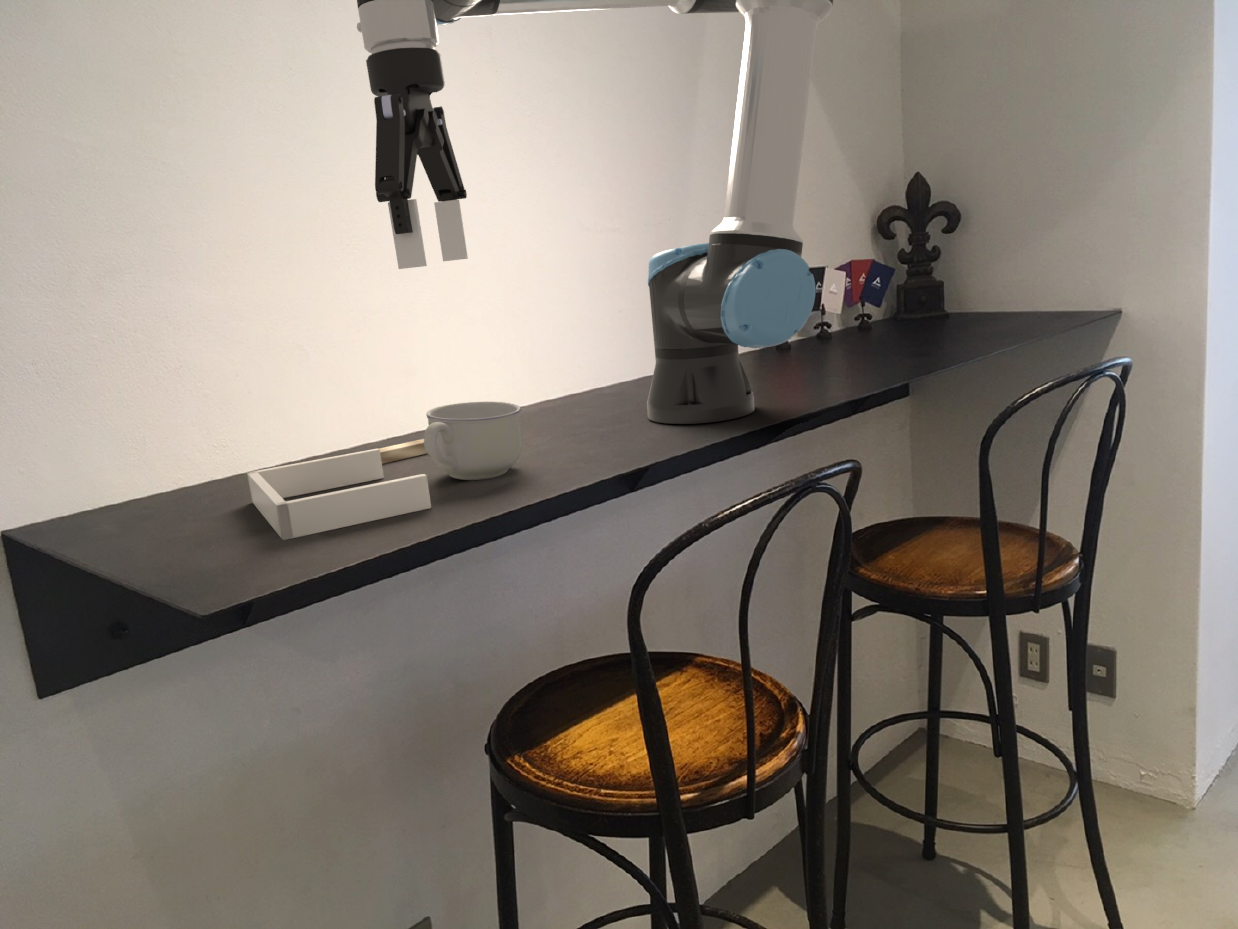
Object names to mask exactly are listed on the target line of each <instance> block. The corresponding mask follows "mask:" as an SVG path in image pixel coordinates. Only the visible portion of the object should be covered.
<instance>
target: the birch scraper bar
mask: <svg viewBox="0 0 1238 929" xmlns="http://www.w3.org/2000/svg"><path fill="white" fill-rule="evenodd" d="M378 449H379V450H380V455H381V462H382V465H383V464H387V463H391V462H395V461H399V460H403V459H409V458H413V457H417V456H421V455H426V454H428V453H427V452H426V450H425V446H424V438H421V439H416V440H412V441H407V442H403V443H399V444H393V445H388V446H385V447H380V448H378Z"/></svg>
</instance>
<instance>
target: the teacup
mask: <svg viewBox="0 0 1238 929" xmlns="http://www.w3.org/2000/svg"><path fill="white" fill-rule="evenodd" d="M521 410H522V409H521V406H520V405H518V404H515V403H510V402H503V401H469V402H459V403H452V404H447V405H442V406H437V407H433V408H431V409H429V410H428V411H426V414H425V415H426V418H427V422H428V426H427V427H426V429H425V431H424V434H423V439H424V446H425V450H426V452H427V453H426V454H427V455H428V456H429V457H430V458H432V459H433V461H434V463H435V465H436V466H437V467H438V469H440V470H441V471H444V472H445V473H446V475H448V476H449V477H451V478H453V479H456V480H463V481H479V480H480V481H481V480H486V479H487V480H488V479H492V478H497V477H500V476H503V475H504V474H506V473H507V472H508V471H509V469H510V468H511V467H512V466H514V465H515V464H516V463H517V461H518V460H519V457H520V454H521V450H522V433H521V429H522V428H521V414H520V413H521Z"/></svg>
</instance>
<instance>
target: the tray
mask: <svg viewBox="0 0 1238 929" xmlns="http://www.w3.org/2000/svg"><path fill="white" fill-rule="evenodd" d="M379 449H380V448H373V449H368V450H361V451H356V452H350V453H346V454H341V455H335V456H329V457H322V458H318V459H313V460H308V461H307V460H306V461H302V462H297V463H290V464H285V465H279V466H274V467H269V468H264V469H259V470H253V471H247V472H246V476H247V480H248V485H249V486H248V487H249V492H250V498H251V503H252V504H253V505H254V506H255V507H256V509H257V510H258V511H259V513H260V514H261V515H262V516H263V518H265V520H266V521H267V522H268V524H269V525H270V526H271V527H272V528H273V530H274V531H275V532H276V533H277V535H278V536H279V537H280V539H281V540H282V541H285V540H291V539H294V538H300V537H305V536H308V535H313V534H319V533H322V532H327V531H333V530H336V529H340V528H346V527H350V526H354V525H360V524H364V523H368V522H369V523H370V522H372V521H373V522H374V521H377V520H382V519H383V520H384V519H387V518H392V517H395V516H396V517H397V516H401V515H404V514H410V513H415V512H419V511H424V510H428V509H431V508H432V503H431V502H432V501H431V496H430V488H429V482H428V476H427V474H425V473H421V474H416V475H410V476H406V477H400V478H395V479H392V480H385V481H381V482H376V483H371V484H366V485H361V486H355V487H351V488H347V489H342V490H341V489H340V490H336V491H331V492H327V493H321V494H316V495H312V496H306V497H302V498H296V499H292V500H285V498H286V499H287V498H290V497H295V496H300V495H305V494H311V493H316V492H320V491H325V490H331V489H335V488H340V487H346V486H350V485H351V486H352V485H356V484H360V483H361V484H362V483H367V482H371V481H376V480H381V479H385V476H384V469H383V464H382V462H381V455H380V450H379Z"/></svg>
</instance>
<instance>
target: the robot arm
mask: <svg viewBox="0 0 1238 929" xmlns="http://www.w3.org/2000/svg"><path fill="white" fill-rule="evenodd" d="M833 3H834V0H356V4H357V11H358V16H359V22H357V24H356V28H357V31H358V32H359V33H361V35H362V41H363V46H364V49H365V51H367V52H368V53H371V54H370V55H368V57H367V59H366V61H365V63H366V69H367V75H368V82H369V88H370V92H371V93H372V94H373V95H374V96H375V97H374V98H373V99H374V100H373V104H374V110H375V119H376V132H375V165H374V166H375V168H374V172H375V173H374V174H375V175H374V176H375V177H374V188H375V189H374V190H375V196H376V200H377V201H378V203H385V202H387V206H388V213H389V218H390V225H391V230H392V236H393V242H394V243H393V244H394V249H395V255H396V256H395V257H396V261H397V267H398V270H403V269H412V268H421V267H427V266H428V265H427V264H428V263H427V259H426V258H427V257H426V252H425V247H424V246H425V245H424V240H423V233H422V227H421V222H420V215H419V214H420V213H419V209H418V208H419V207H418V201H417V199H416V198H415V199H414V198H413V199H411V198H412V194H413V187H414V179H415V173H416V165H417V158H419V160H420V162H421V165H422V167H423V169H424V172H425V174H426V176H427V179H428V181H429V183H430V186H431V188H432V190H433V193H434V195H435V197H436V200H437V202H434V203H433V204H434V209H435V218H436V224H437V231H438V236H439V244H440V250H441V258H442V262H450V261H451V262H452V261H460V260H467V259H469V257H468V251H467V245H466V237H465V230H464V225H463V224H464V223H463V217H462V210H461V203H460V200H462V199H463V200H465V199H467V197H468V196H467V195H468V194H467V189H465V186H464V183H463V179H462V175H461V172H460V169H459V165H458V163H457V159H456V156H455V153H454V149H453V145H452V142H451V139H450V136H449V132H448V128H447V123H446V118H445V117H446V116H445V111H444V108H443V106H442V105H439V106H433V104H432V101H431V95H432V94H433V93H438V92H440V91H442V90H443V89H444V88H445V85H446V84H445V82H446V81H445V76H444V69H443V63H442V57H441V53H440V52H439V51H438V50H437V49H435V48H436V47H438V45H439V44H440V39H439V33H438V26H445V25H449V24H454V23H455V22H458V21H460V20H461V19H462V18H473V17H476V18H477V17H486V16H497V15H498V16H499V15H500V16H501V15H517V14H519V15H520V14H536V13H539V14H540V13H556V12H560V13H561V12H574V11H575V12H576V11H578V12H579V11H592V10H593V11H596V10H614V9H616V10H617V9H631V8H632V9H633V8H652V7H669V9H670V10H671V11H672V12H673V13H676V14H679V15H683V14H684V15H685V14H715V13H716V14H717V13H719V14H722V13H726V14H727V13H728V14H729V13H740V14H741V16H742V17H743V18H744V21H745V28H744V29H745V30H744V39H743V47H742V56H741V64H740V73H739V82H738V89H737V90H738V91H737V100H736V106H735V107H736V108H735V117H734V126H733V134H732V135H733V136H732V143H731V152H730V162H729V169H728V170H729V171H728V178H727V187H726V197H725V203H724V204H725V205H724V213H723V214H724V215H723V219H722V221H721V222H720V223H719V224H718V225H717V226H716V227H714V229H712V230H711V231H710V232H709V239H708V242H703V243H696V244H691V245H684V246H681V247H675V248H671V249H666V250H663V251H660V252H657V253H655V254H654V255H652V256H651V258H650V259H649V262H648V273H647V274H648V278H647V286H648V289H649V290H648V291H649V300H650V311H651V312H650V313H651V322H652V332H653V333H652V335H653V344H654V346H653V347H654V356H655V365H654V370H653V374H652V378H651V382H650V383H651V384H650V388H649V392H648V397H647V400H646V410H647V418H648V420H650V421H652V422H655V423H660V424H672V425H673V424H674V425H675V424H676V425H689V424H690V425H692V424H693V425H694V424H705V423H706V424H707V423H714V422H717V423H718V422H723V421H730V420H734V419H738V418H742V417H744V416H748V415H750V414H752V413H753V412H754V411H755V408H756V407H755V396H754V392H753V390H752V388H751V385H750V382H749V380H748V376H747V374H746V372H745V371H746V370H745V369H744V366H743V365H742V362H741V357H740V356H739V355H740V354H739V347H743V348H749V349H750V348H751V349H758V348H763V347H764V348H767V347H769V348H770V347H775V346H778V345H781V344H784V343H786V342H787V341H789V340H791V339H792V338H793V337H794V336H795V335H796V334H797V333H799V332H800V331H801V330H802V329H803V327H804V326H805V325H806V323H807V322H808V320H809V318H810V316H811V313H812V311H813V307H814V305H815V301H816V300H815V299H816V282H815V277H814V276H815V275H814V274H813V273H811V271H810V266H809V264H808V263H807V262H806V260H805V259H804V258H803V257H802V255H803V254H802V253H803V248H804V247H803V246H804V240H803V238H802V237H801V236H800V235H799V234H798V233H797V231H796V230H795V228H794V219H795V218H794V217H795V212H796V211H795V210H796V201H797V193H798V186H799V177H800V172H801V171H800V169H801V162H802V161H801V160H802V153H803V144H804V139H805V138H804V137H805V128H806V120H807V111H808V103H809V96H810V87H811V80H812V79H811V78H812V72H813V63H814V55H815V47H816V38H817V30H818V25H819V24H820V23H821V22H822V21H823V20H825V19H826V18H827V17H828V16H829V15H830V14H831V13H833V5H834V4H833ZM417 156H418V157H417Z"/></svg>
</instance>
